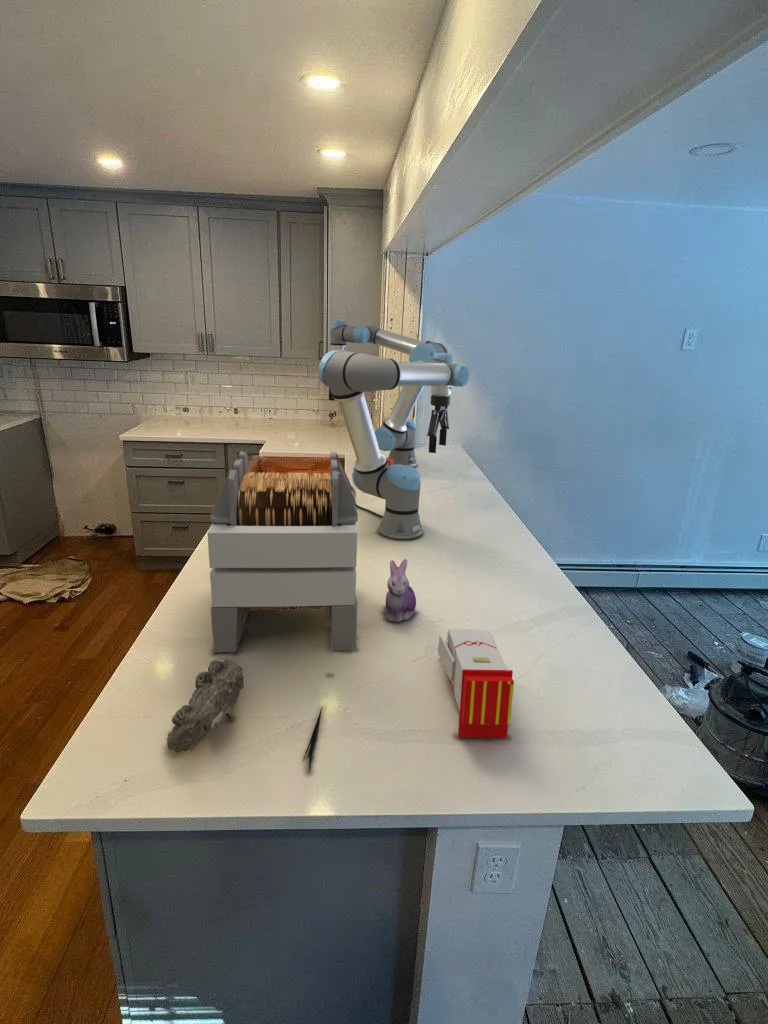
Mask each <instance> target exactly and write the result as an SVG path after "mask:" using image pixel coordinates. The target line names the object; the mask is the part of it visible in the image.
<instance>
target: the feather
mask: <svg viewBox="0 0 768 1024" xmlns="http://www.w3.org/2000/svg"><path fill="white" fill-rule="evenodd" d="M329 675H330V676H331V675H332V674H331V673H330V674H329ZM322 710H323V707H321V708H320V710H319V713H318V716H317V719H316V723H315V725H314V728H313V731H312V733H311V737H310V739H309V742H308V745H307V748H306V751H305V754H304V757H303V760H302V763H301V767H302V765H303V763H304V761H305V758H308V759H309V760H308V762H307V763H308V764H307V766H308V771H310V770H311V766H312V765H311V764H312V760H313V757H315V756H314V755H315V751H316V749H315V746H317V739H318V733H319V729H320V722H321V717H322V712H323V711H322ZM313 754H314V755H313ZM306 755H307V757H306Z"/></svg>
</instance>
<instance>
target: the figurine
mask: <svg viewBox="0 0 768 1024" xmlns="http://www.w3.org/2000/svg"><path fill="white" fill-rule="evenodd" d="M407 567H408V559H406V558H404V559H403V560H402V561H401V563H400V565H399V566H398V565H397V563H396V562H395V561H394V560H393V559H391V560H390V561H389V570H390V576H389V578H388V579H387V589H388V591H387V592H386V594H385V595H386V596H385V607H384V615H385V616H386V620H387V621H391V622H395V623H400V622H402V621H406V620H409V619H410V618H411V617H413V616H414V615H415V610H416V606H417V597H416V593H415V591H414V590H413V587H411V586H410V582H409V579H408V577H407V574H406V571H407Z"/></svg>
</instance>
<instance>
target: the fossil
mask: <svg viewBox="0 0 768 1024" xmlns="http://www.w3.org/2000/svg"><path fill="white" fill-rule="evenodd" d="M243 670H244V669H243V667H242V665H240V664H237V662H236V661H235V660H234V659H232V658H231V659H227V658H226V659H224V660H223V661H222V660H217V659H212V660H211V661H210V663H209V665H208V666H207V671H201V672H199V673H198V674H197V675H196V676H195V680H194V684H195V685H194V687H195V689H194V690H193V693H192V694H191V697H190V698H189V700H188V704H184V705H182V706H181V707H180V709H177V710H176V711H175V713H174V715H173V716H172V718H171V723H172V724H173V727H172V730H171V731H170V732H168V734H167V738H166V741H167V742H166V745H167V749H168V750H169V751H173V752H174V753H176V754H178V753H182V752H188V751H189V752H192V751H193V750H195V748H196V747H197V746H199V744H200V743H201V742H203V741H204V740H205V739H206V738H207V737H208V736H209V735H210V734H211V733H212V732H214V730H215V729H217V727H218V726H219V724H220V722H221V721H222V720H223V719H224V718H225V716H226V717H227V719H229V720H233V717H232V715H230V714H229V710H230V709H231V708H234V706H235V704H236V703H237V702H238V699H239V697H240V695H241V693H242V691H243V690H245V689H244V688H245V675H244V671H243Z"/></svg>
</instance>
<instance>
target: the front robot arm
mask: <svg viewBox="0 0 768 1024" xmlns="http://www.w3.org/2000/svg"><path fill="white" fill-rule="evenodd" d="M320 361H321V362H320V363H319V365H318V377H319V380H320V382H321V383H322V384H323V385H324V386H326V387H328V386H329V387H330V390H331V393H332V396H333V398H334V399H335V400H336V401H338V403H339V406H340V407H339V408H340V410H341V413H342V416H343V420H344V422H345V426H346V429H347V432H348V435H349V439H350V442H351V445H352V448H353V451H354V455H355V458H356V461H355V462H354V466H353V469H352V471H353V472H352V473H351V479H352V483H353V485H354V486H355V488H356V489H357V490H359V491H361V492H362V493H365V494H366V495H367V494H368V495H371V496H374V497H376V498H379V499H382V500H385V504H384V505H385V507H384V508H385V509H384V513H383V515H382V514H379V513H377V512H375V511H372V510H370V509H368V508H365V507H363V506H360V505H358V504H357V503H356V508H357V509H359V510H361V511H365V512H367V513H369V514H371V515H373V516H376V517H378V518H381V522H379V527H378V533H379V534H380V535H381V536H382V537H385V538H387V539H389V540H395V541H410V540H415V539H418V538H420V537H421V536H422V535H423V525H422V524H421V518H420V515H419V507H420V506H419V505H420V496H421V495H420V494H421V482H422V481H421V474H420V471H418V470H417V468H415V467H414V468H412V467H410V466H406V465H405V466H404V465H399V464H396V465H391V466H388V463H387V459H386V458H387V456H386V454H384V453H382V452H381V450H380V449H379V447H378V443H377V439H376V436H375V429H374V425H373V422H372V419H371V415H370V411H369V407H368V404H367V401H366V397H365V393H368V392H369V393H370V392H380V391H391V390H392V391H393V390H394V389H396V388H397V387H403V386H424V387H430V386H431V387H430V394H431V395H430V405H431V406H434V409H432V410H431V412H430V413H431V414H430V421H429V424H428V426H429V427H428V431H427V433H426V436H427V437H429V438H428V454H429V453H430V454H436V453H437V439H438V436H437V433H438V429H439V426H440V429H439V440H438V445H439V446H445V447H446V446H447V434H448V430H450V422H449V411H448V410H449V406H450V405H451V393H452V390H453V387H455V388H457V387H458V388H461V387H465V386H466V385H467V384H468V382H469V381H470V380H469V379H470V370H469V367H468V366H466V365H465V364H461V363H454V356H453V354H452V353H449V352H448V353H435V354H434V355H433V360H419V361H415V362H413V363H412V362H410V361H397V360H395V359H394V358H389V357H382V356H381V357H380V356H376V355H372V354H368V353H363V352H355V351H347V350H346V351H344V350H333V351H330V350H329V351H328V352H327V353H325V354H324V355H323V356H322V358H321V360H320ZM329 387H328V388H329ZM352 488H353V490H354V496H355V494H356V493H355V492H356V491H355V488H354V487H353V486H352Z"/></svg>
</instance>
